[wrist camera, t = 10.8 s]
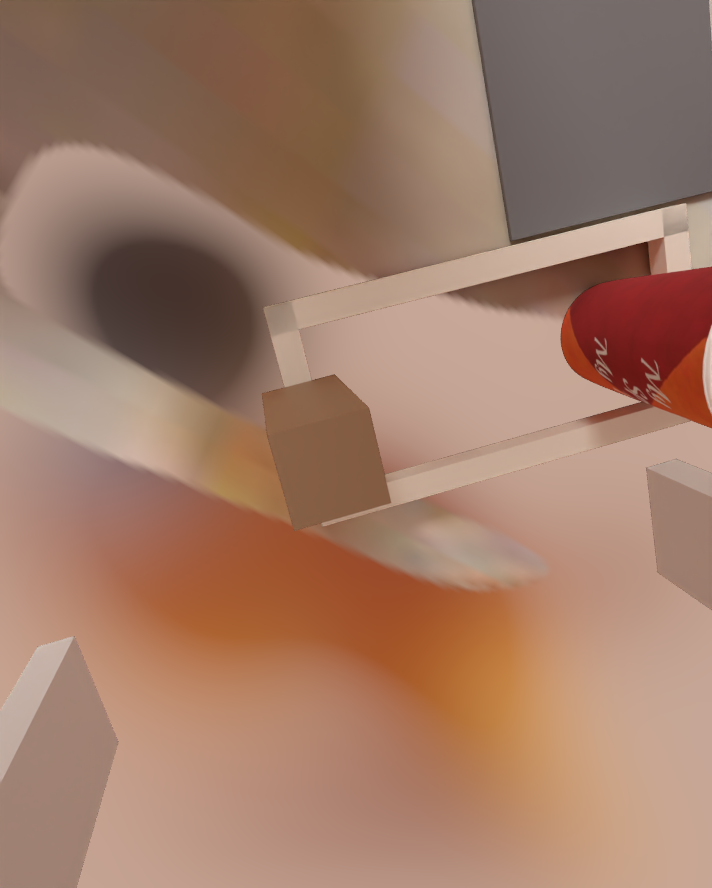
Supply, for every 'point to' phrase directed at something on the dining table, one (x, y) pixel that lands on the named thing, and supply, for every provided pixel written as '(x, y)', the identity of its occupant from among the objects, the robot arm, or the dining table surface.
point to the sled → (349, 420)
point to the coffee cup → (647, 340)
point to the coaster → (596, 106)
